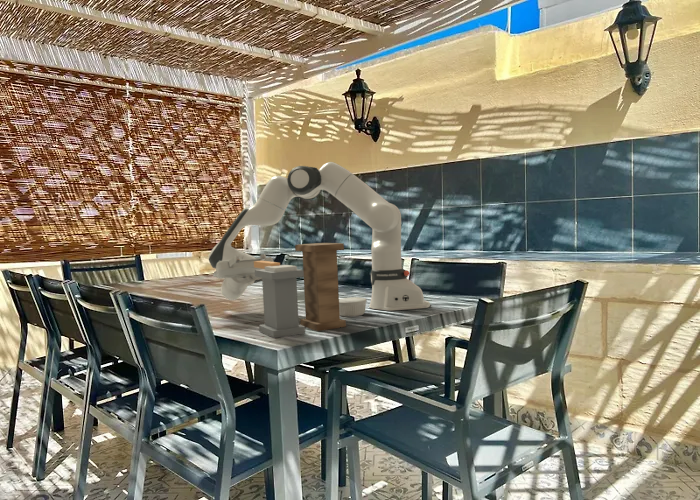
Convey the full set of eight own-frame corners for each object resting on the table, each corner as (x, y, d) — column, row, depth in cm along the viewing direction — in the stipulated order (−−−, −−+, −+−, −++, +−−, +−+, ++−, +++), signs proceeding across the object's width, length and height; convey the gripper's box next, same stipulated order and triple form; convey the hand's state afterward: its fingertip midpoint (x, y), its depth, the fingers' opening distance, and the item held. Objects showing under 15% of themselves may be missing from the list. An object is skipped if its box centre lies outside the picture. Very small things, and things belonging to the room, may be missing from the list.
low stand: (258, 331, 168) (254, 270, 167) (287, 326, 173) (284, 267, 172) (275, 338, 156) (271, 272, 155) (306, 333, 161) (303, 270, 160)
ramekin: (331, 317, 187) (330, 302, 187) (340, 311, 198) (339, 297, 198) (362, 317, 184) (361, 302, 184) (370, 311, 195) (369, 297, 195)
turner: (248, 267, 177) (247, 261, 177) (268, 266, 180) (268, 260, 180) (274, 272, 157) (274, 265, 157) (296, 270, 160) (296, 263, 160)
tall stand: (299, 324, 175) (295, 244, 174) (326, 320, 180) (323, 242, 179) (318, 331, 163) (314, 245, 162) (347, 327, 168) (343, 243, 167)
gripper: (210, 269, 191) (218, 250, 180) (264, 264, 201) (276, 247, 190) (213, 285, 189) (222, 267, 178) (268, 280, 199) (280, 262, 188)
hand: (250, 256), depth 184 cm, fingers open, 8 cm apart
